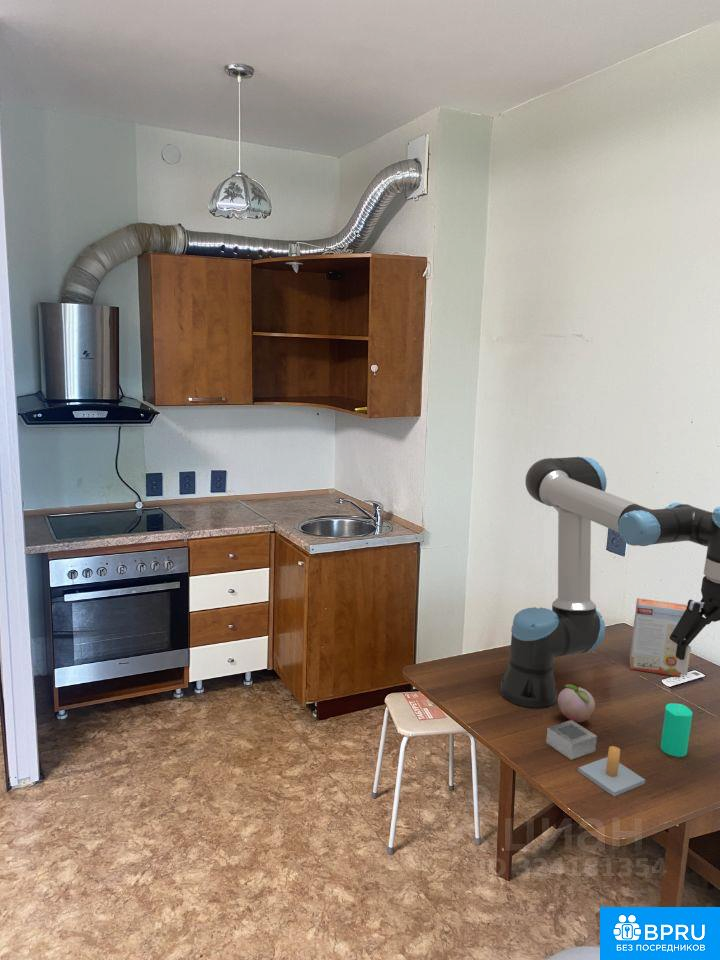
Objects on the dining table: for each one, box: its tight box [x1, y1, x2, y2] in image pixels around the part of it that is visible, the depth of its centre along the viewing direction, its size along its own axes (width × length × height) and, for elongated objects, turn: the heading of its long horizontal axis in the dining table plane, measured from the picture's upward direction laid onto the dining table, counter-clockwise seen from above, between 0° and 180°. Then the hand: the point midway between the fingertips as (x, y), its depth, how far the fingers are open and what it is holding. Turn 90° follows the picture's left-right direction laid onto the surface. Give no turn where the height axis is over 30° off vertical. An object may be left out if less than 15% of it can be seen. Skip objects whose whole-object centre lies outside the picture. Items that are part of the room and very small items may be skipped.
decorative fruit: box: [556, 684, 596, 723], centre depth 181 cm, size 9×8×10 cm
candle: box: [660, 702, 694, 758], centre depth 170 cm, size 6×6×12 cm
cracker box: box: [629, 598, 687, 677], centre depth 212 cm, size 14×6×21 cm, turn 72°
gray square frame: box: [545, 719, 598, 761], centre depth 170 cm, size 8×8×4 cm
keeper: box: [577, 745, 646, 797], centre depth 158 cm, size 10×10×7 cm
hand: (707, 670), depth 157 cm, fingers open, 13 cm apart
